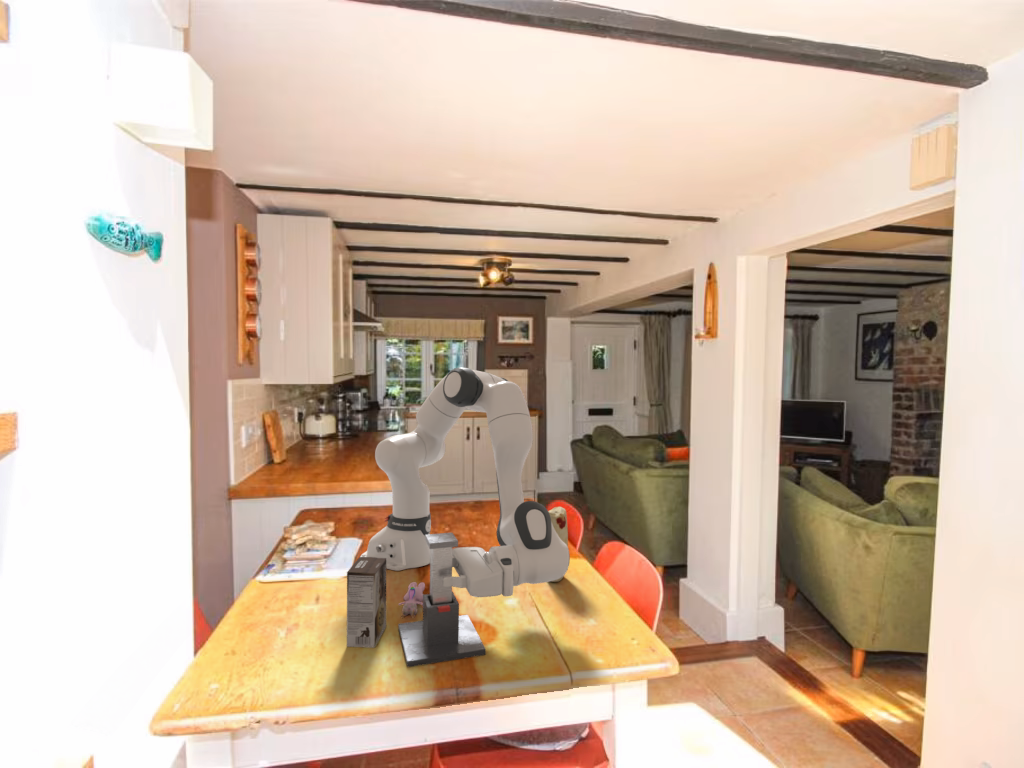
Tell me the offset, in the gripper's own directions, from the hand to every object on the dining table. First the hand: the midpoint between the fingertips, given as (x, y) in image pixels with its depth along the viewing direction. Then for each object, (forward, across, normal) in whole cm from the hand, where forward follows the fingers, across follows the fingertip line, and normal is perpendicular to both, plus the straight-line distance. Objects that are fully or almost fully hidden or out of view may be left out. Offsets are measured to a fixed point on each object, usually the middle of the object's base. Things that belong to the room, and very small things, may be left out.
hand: (438, 573), depth 115 cm
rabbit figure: (+3, -19, +15) cm, 25 cm away
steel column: (0, 0, +14) cm, 14 cm away
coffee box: (+14, -6, +15) cm, 22 cm away
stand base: (0, 0, +15) cm, 15 cm away
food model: (-38, -25, +15) cm, 48 cm away
